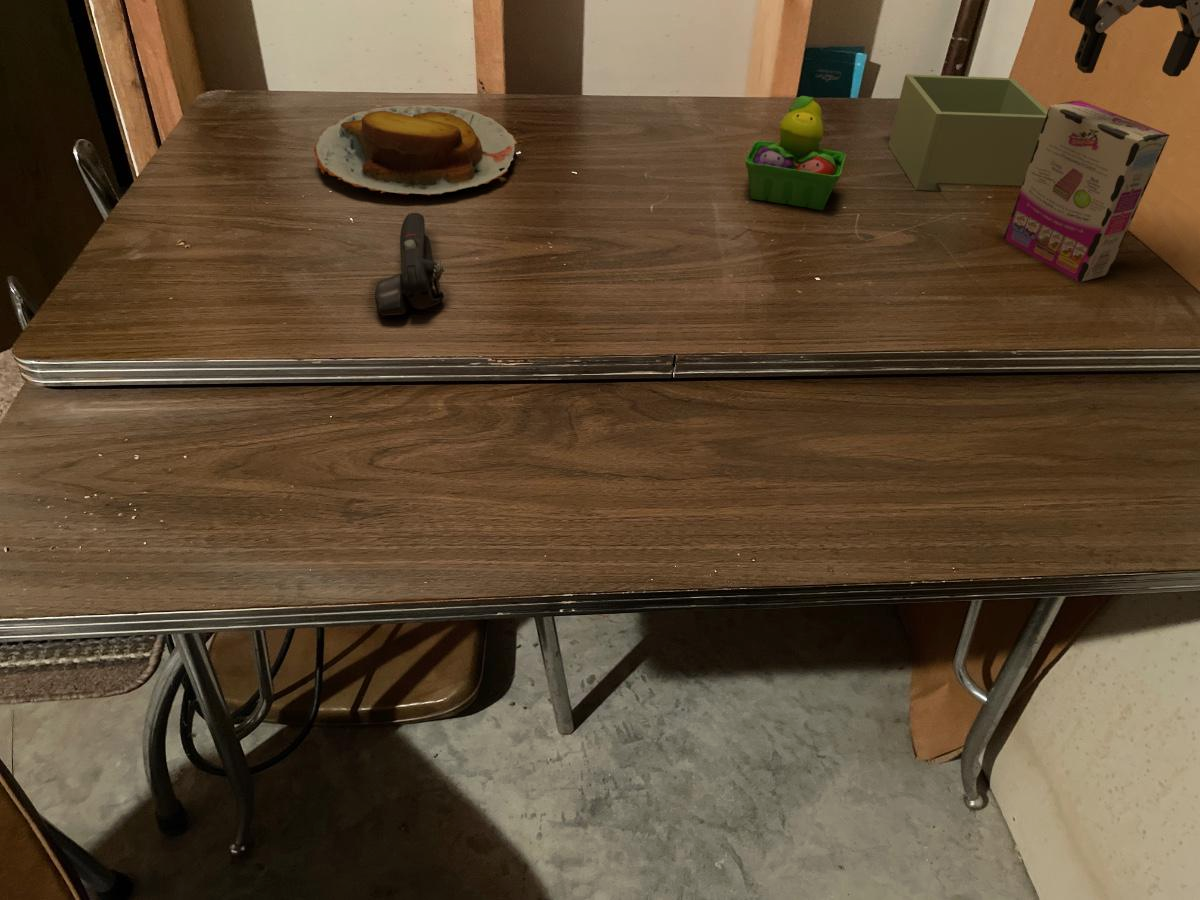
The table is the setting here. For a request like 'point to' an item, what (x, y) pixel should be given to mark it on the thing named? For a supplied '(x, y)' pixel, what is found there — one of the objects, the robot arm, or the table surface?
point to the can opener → (411, 273)
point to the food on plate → (415, 149)
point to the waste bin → (965, 130)
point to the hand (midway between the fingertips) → (1126, 72)
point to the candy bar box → (1083, 188)
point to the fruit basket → (795, 161)
